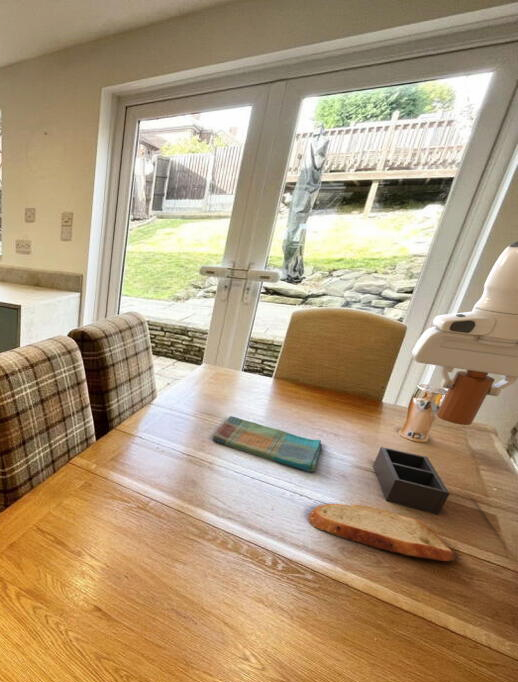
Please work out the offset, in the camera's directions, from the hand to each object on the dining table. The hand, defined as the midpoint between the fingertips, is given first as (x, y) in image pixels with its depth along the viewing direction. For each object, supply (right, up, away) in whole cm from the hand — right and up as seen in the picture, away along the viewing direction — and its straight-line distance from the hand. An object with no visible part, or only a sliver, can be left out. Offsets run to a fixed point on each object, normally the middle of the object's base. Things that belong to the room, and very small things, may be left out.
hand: (467, 390), depth 81 cm
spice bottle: (0, -6, +3) cm, 7 cm away
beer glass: (+21, -14, +31) cm, 40 cm away
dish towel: (-24, -16, +27) cm, 40 cm away
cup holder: (-4, -23, +10) cm, 25 cm away
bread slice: (-23, -29, -4) cm, 37 cm away
